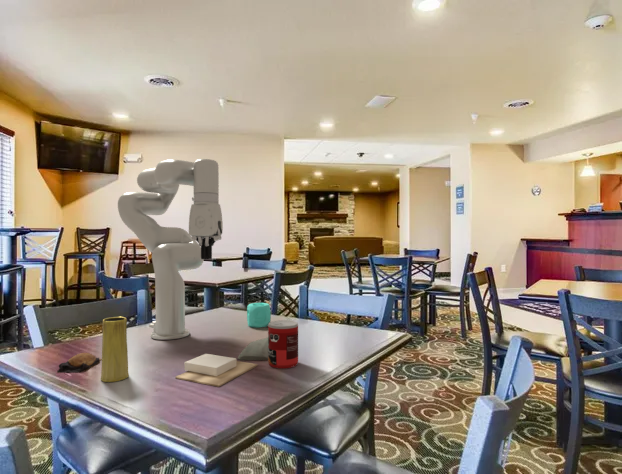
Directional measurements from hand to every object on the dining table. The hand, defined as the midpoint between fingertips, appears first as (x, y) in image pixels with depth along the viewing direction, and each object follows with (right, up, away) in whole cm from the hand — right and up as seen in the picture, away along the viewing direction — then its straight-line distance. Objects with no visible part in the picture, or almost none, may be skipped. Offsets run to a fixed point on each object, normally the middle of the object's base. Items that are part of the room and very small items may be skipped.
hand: (206, 258), depth 123 cm
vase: (-15, -28, -27) cm, 41 cm away
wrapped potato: (-29, -28, -18) cm, 44 cm away
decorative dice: (+12, -27, +29) cm, 41 cm away
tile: (+2, -26, -20) cm, 32 cm away
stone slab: (+17, -28, -3) cm, 33 cm away
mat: (+9, -27, -23) cm, 37 cm away
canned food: (+25, -27, -17) cm, 41 cm away
